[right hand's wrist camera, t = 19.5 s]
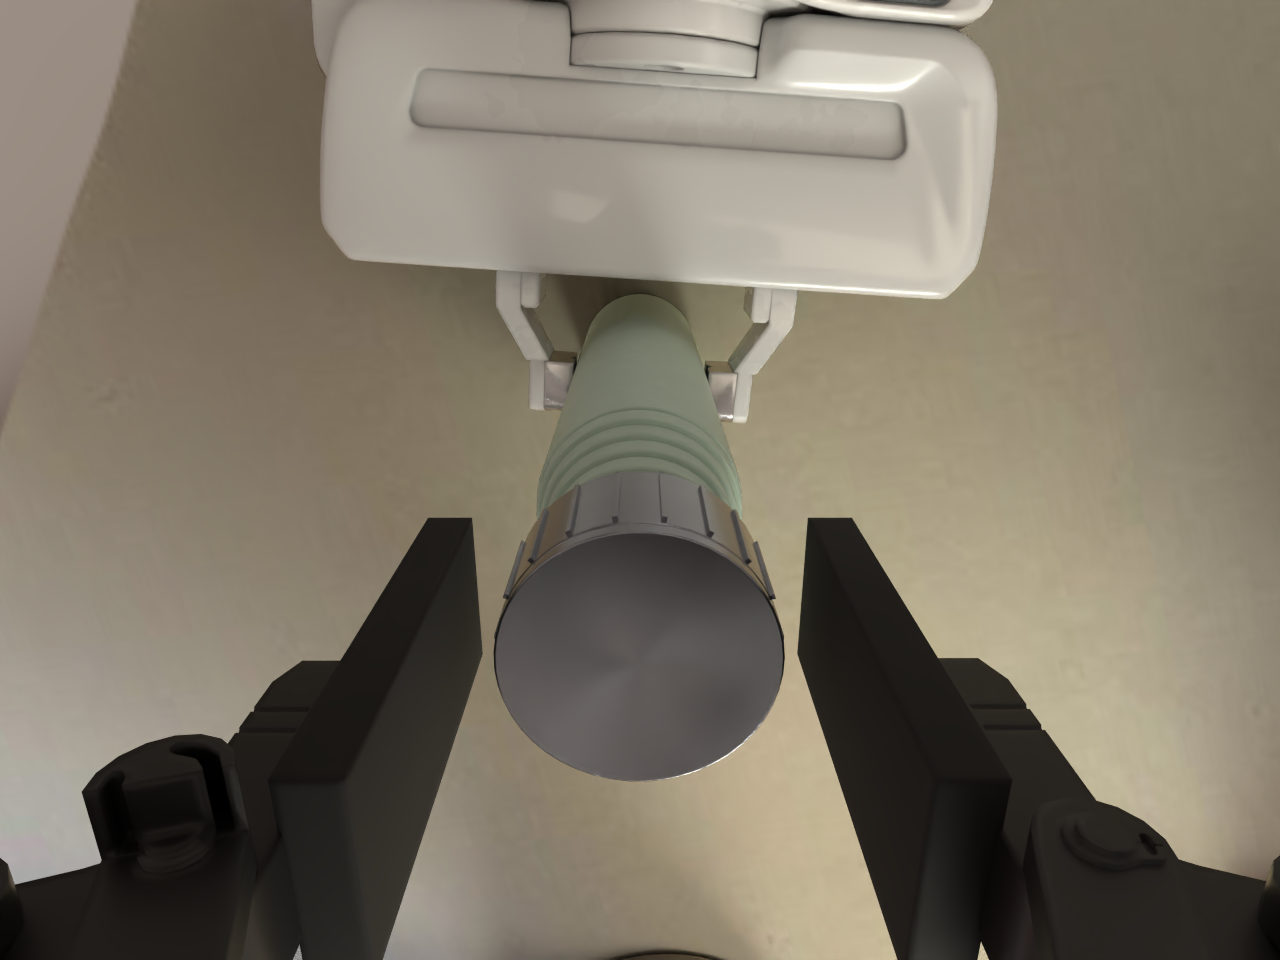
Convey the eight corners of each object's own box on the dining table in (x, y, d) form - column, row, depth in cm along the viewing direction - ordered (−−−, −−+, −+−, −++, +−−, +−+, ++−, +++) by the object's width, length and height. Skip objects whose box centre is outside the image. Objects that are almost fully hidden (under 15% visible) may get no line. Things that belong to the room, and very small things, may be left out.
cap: (509, 681, 15) (485, 775, 13) (518, 456, 14) (492, 515, 11) (745, 698, 16) (765, 794, 13) (780, 477, 14) (809, 540, 12)
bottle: (699, 395, 35) (792, 746, 14) (593, 407, 35) (521, 772, 14) (688, 287, 33) (774, 491, 12) (577, 301, 34) (468, 525, 12)
